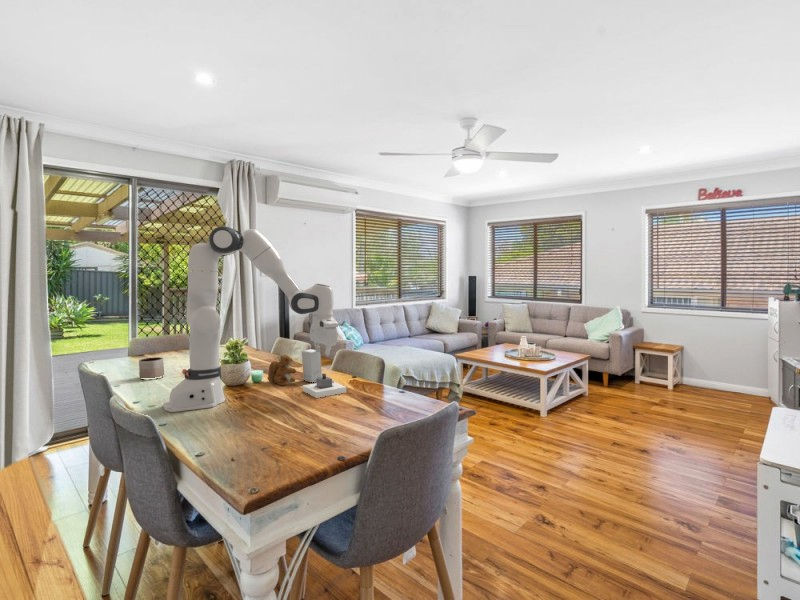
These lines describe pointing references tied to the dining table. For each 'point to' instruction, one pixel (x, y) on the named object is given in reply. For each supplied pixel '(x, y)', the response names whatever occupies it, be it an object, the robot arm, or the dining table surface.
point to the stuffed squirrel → (281, 371)
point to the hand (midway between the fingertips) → (322, 353)
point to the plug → (324, 382)
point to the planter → (151, 367)
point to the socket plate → (324, 390)
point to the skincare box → (311, 365)
